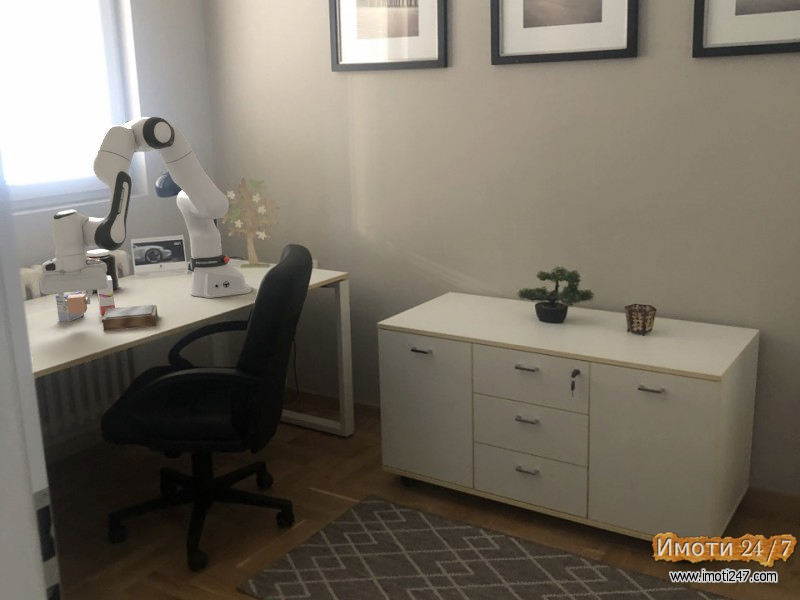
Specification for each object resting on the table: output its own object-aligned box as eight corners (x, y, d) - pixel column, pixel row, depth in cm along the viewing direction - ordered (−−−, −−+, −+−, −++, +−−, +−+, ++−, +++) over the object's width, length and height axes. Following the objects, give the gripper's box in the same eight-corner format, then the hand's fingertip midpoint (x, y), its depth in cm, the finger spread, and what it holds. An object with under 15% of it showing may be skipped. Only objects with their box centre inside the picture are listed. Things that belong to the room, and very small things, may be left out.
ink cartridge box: (116, 313, 289) (111, 271, 285) (101, 315, 287) (96, 272, 283) (114, 307, 296) (109, 266, 293) (99, 309, 295) (94, 268, 291)
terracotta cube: (87, 308, 273) (85, 293, 272) (85, 312, 268) (83, 297, 267) (70, 310, 272) (68, 295, 271) (68, 314, 267) (66, 298, 266)
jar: (109, 293, 319) (104, 254, 315) (80, 292, 321) (75, 253, 317) (124, 286, 330) (119, 248, 327) (96, 285, 332) (92, 248, 329)
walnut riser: (157, 315, 284) (156, 303, 283) (155, 326, 271) (154, 314, 270) (107, 319, 281) (106, 307, 280) (103, 330, 267) (102, 318, 266)
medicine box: (73, 315, 288) (70, 290, 286) (84, 315, 287) (81, 290, 285) (58, 321, 281) (55, 295, 278) (69, 321, 279) (66, 296, 277)
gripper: (107, 257, 271) (112, 299, 275) (39, 263, 267) (45, 305, 270) (105, 261, 265) (110, 304, 269) (35, 266, 261) (42, 310, 264)
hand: (77, 304), depth 270 cm, fingers closed on terracotta cube, 5 cm apart
